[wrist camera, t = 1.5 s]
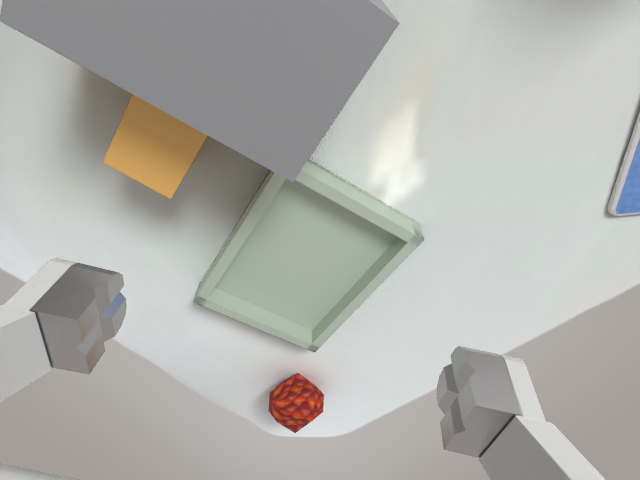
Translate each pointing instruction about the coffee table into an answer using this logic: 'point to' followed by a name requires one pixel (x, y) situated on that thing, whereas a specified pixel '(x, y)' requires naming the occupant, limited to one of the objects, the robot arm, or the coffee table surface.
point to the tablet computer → (628, 180)
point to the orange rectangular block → (153, 147)
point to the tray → (306, 256)
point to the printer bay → (223, 61)
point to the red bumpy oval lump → (296, 403)
